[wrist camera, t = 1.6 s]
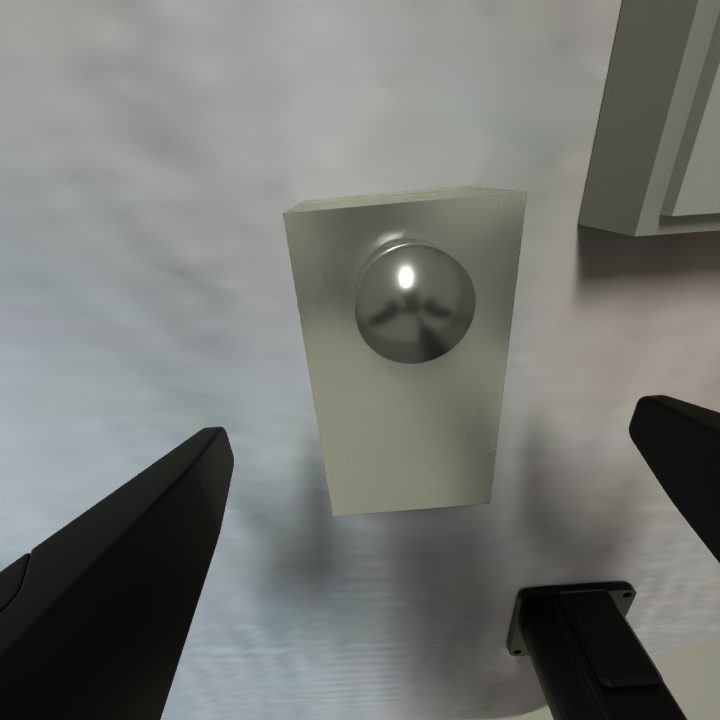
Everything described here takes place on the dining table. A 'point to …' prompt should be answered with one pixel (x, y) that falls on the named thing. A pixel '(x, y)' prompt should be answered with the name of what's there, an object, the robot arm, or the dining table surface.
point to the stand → (659, 123)
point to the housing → (407, 339)
